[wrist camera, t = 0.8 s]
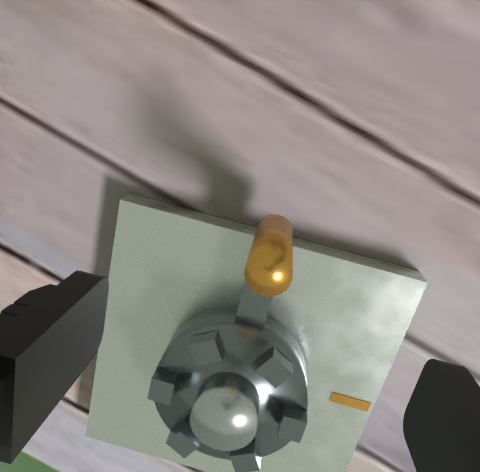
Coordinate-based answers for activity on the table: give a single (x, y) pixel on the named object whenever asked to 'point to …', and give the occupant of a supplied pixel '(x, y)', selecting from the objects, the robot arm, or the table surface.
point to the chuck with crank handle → (237, 367)
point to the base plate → (229, 295)
